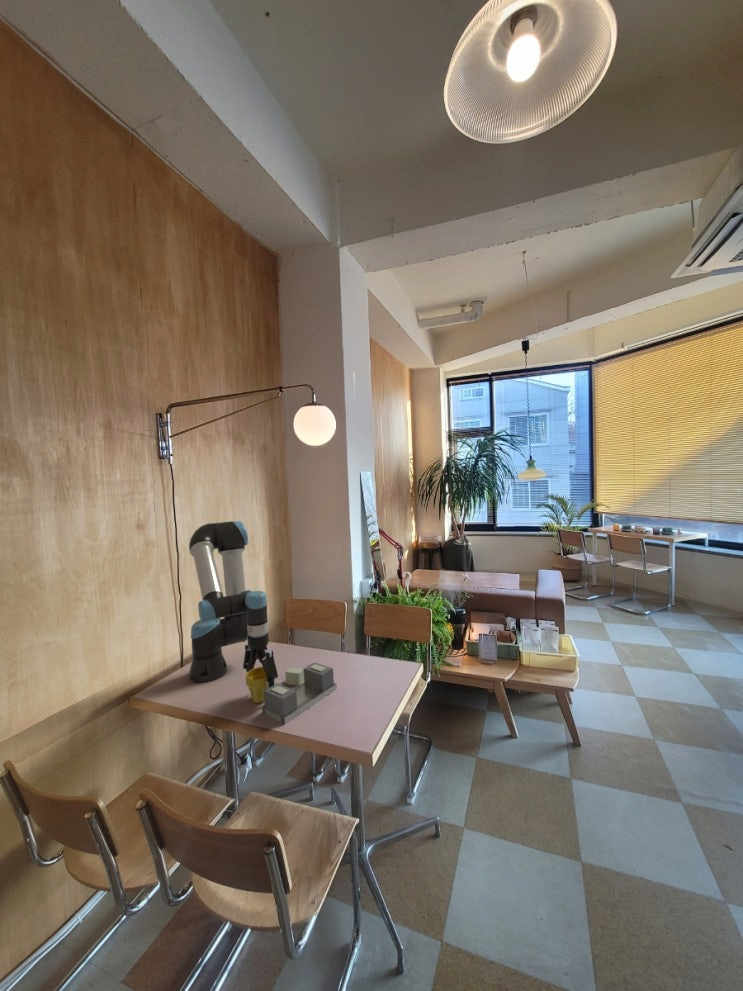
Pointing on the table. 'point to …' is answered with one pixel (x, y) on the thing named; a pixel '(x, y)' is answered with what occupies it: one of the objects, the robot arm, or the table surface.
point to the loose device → (294, 676)
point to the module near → (280, 699)
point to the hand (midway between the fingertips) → (261, 691)
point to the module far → (318, 676)
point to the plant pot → (256, 683)
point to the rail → (301, 701)
